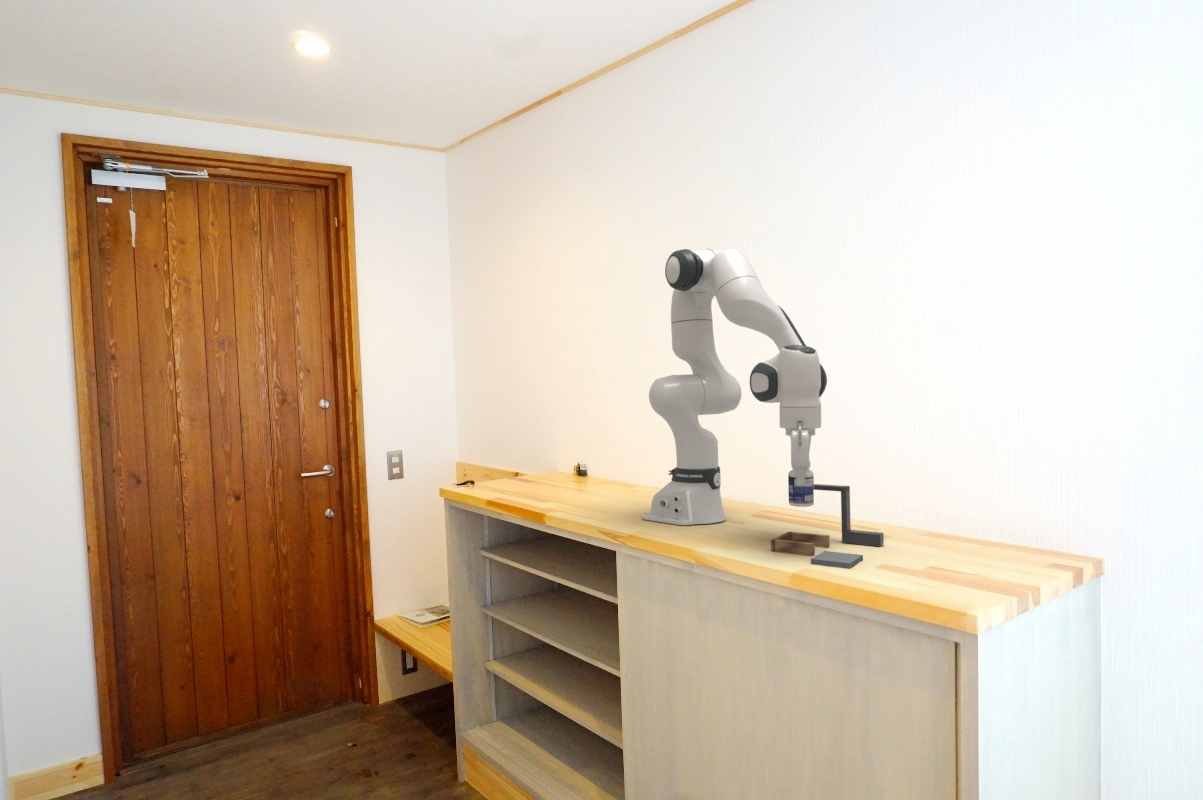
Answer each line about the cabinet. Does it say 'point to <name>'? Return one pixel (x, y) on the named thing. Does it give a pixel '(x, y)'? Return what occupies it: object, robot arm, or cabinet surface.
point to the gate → (847, 533)
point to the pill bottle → (801, 489)
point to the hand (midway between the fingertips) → (800, 482)
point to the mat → (837, 559)
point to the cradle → (799, 543)
